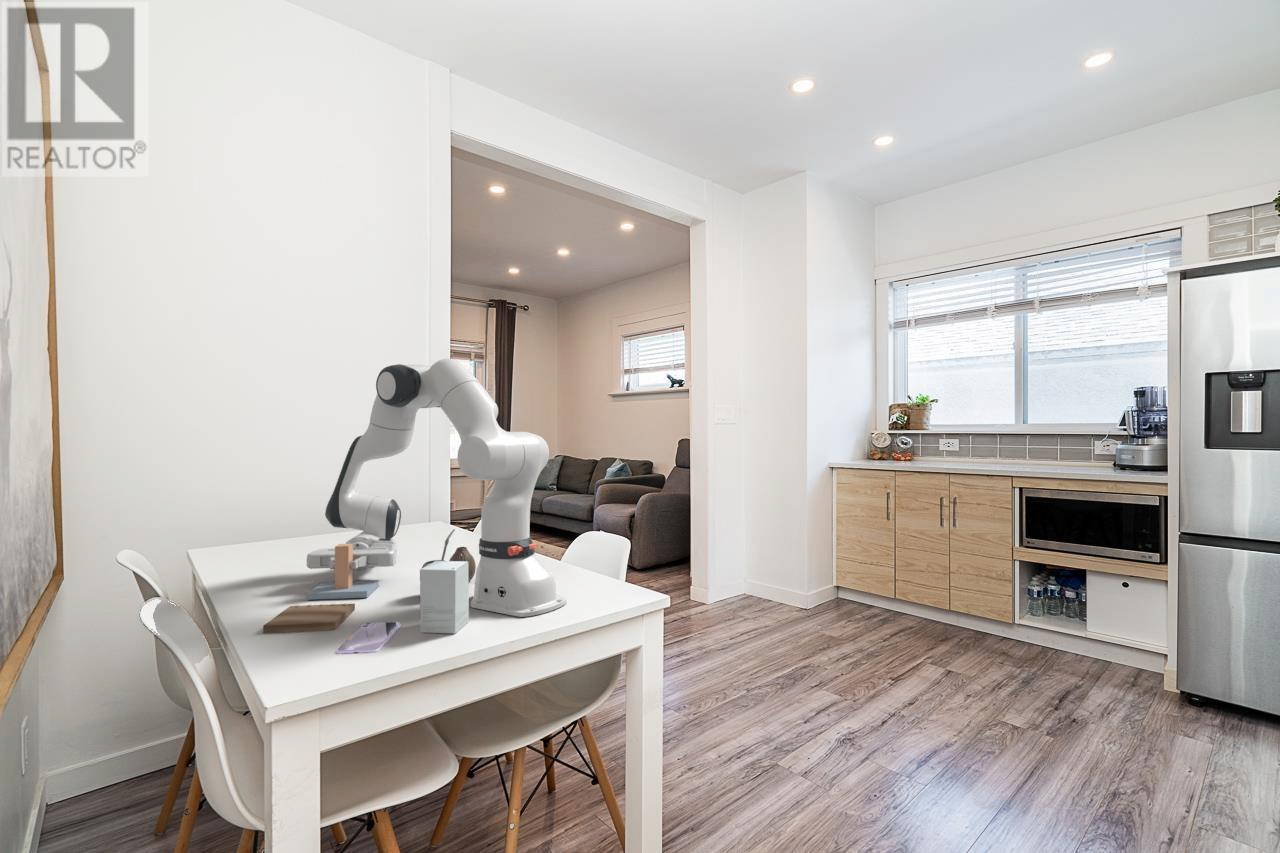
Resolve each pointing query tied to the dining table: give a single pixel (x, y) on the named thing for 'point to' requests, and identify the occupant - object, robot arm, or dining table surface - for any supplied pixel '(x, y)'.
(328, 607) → the board
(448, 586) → the supplement box
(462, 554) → the vase
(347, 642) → the mobile phone
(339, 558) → the stub
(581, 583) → the dining table surface
